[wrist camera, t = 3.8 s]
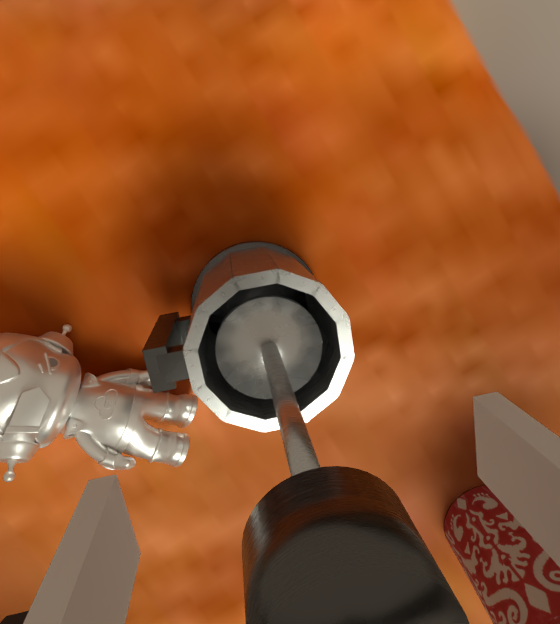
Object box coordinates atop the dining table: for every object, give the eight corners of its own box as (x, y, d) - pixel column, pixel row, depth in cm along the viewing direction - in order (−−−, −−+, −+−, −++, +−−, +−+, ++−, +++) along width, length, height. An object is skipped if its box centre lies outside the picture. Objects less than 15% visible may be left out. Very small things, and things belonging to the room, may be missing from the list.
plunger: (227, 403, 25) (236, 814, 9) (205, 306, 24) (165, 576, 7) (326, 382, 26) (518, 736, 9) (311, 285, 24) (509, 495, 8)
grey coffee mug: (182, 380, 34) (166, 459, 24) (152, 259, 32) (120, 291, 22) (326, 350, 35) (368, 415, 25) (308, 230, 33) (347, 248, 23)
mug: (411, 525, 40) (501, 684, 27) (489, 455, 39) (619, 584, 26) (496, 597, 44) (612, 770, 31) (569, 534, 43) (720, 684, 30)
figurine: (185, 506, 28) (-109, 451, 22) (149, 513, 34) (-93, 471, 28) (215, 350, 33) (-14, 272, 27) (180, 379, 39) (-17, 319, 33)
